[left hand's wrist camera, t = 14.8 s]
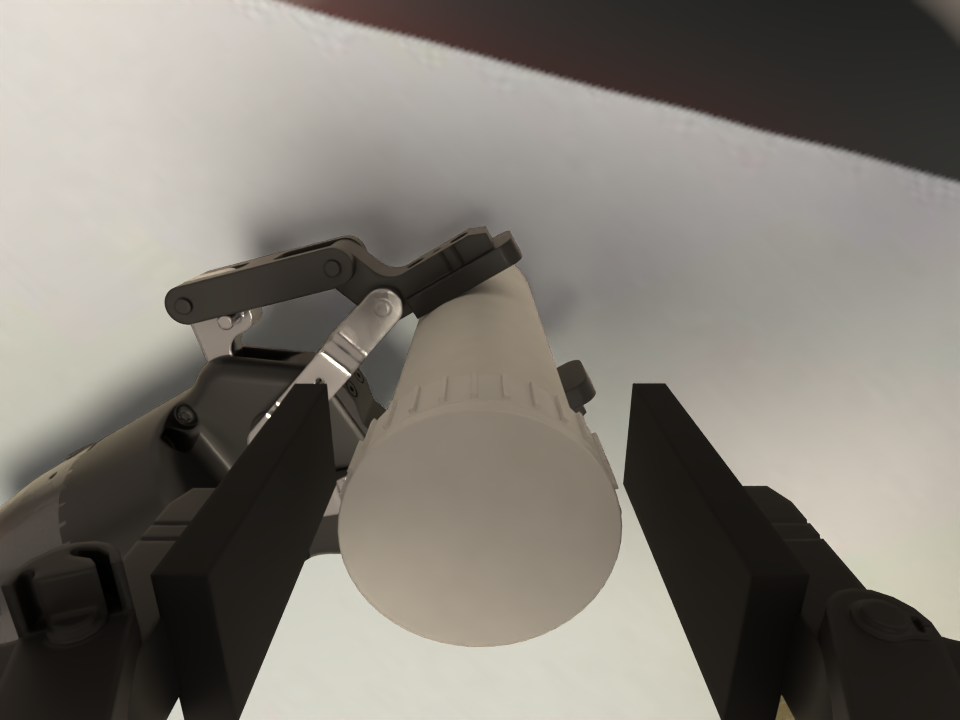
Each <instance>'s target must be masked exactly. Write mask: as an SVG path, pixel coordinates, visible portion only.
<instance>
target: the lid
mask: <svg viewBox="0 0 960 720" xmlns="http://www.w3.org/2000/svg"><path fill="white" fill-rule="evenodd" d="M347 472H348V474H347V476H346V479H345V482H344V484H343V487H342V489H341V492H340V496H339V498H342V499H341V503H340V508H339V513H338V530H337V532H338V540H339V548H340V551H341V555H342V558H343V562H344V564H345V567H346V569H347V571H348V573H349V575H350V577H351V579H352V581H353V582H354V584H355V585H356V587H357V589H358V590H359V591H360V593H361V594H362V595H363V596H364V597H365V598H366V600H367V601H368V602H369V603H370V604H371V605H372V606H373V607H374V608H375V609H376V610H378V611H379V612H380V613H381V614H382V615H384V616H385V617H386V618H388V619H389V620H391V621H392V622H393V623H395V624H397V625H399V626H400V627H402V628H404V629H406V630H408V631H410V632H412V633H415V634H417V635H419V636H422V637H424V638H427V639H431V640H434V641H438V642H441V643H447V644H452V645H458V646H469V647H492V646H500V645H508V644H513V643H517V642H522V641H526V640H529V639H532V638H535V637H538V636H541V635H543V634H545V633H547V632H549V631H551V630H554V629H556V628H557V627H559V626H561V625H562V624H564V623H566V622H567V621H569V620H570V619H572V618H573V617H574V616H576V615H577V614H578V613H579V612H581V611H582V610H583V609H584V608H585V607H586V606H587V605H588V604H589V603H590V602H591V601H592V600H593V599H594V598H595V597H596V595H597V594H598V593H599V592H600V590H601V589H602V588H603V586H604V585H605V583H606V581H607V579H608V578H609V576H610V574H611V572H612V570H613V567H614V565H615V562H616V560H617V557H618V553H619V548H620V544H621V534H622V520H621V508H620V505H619V502H618V498H617V494H616V492H615V489H618V485H617V482H616V480H615V477H614V475H613V472H612V470H611V467H610V465H609V462H608V460H607V457H606V456H605V453H604V451H603V448H602V446H601V443H600V441H599V438H598V436H597V434H596V433H593V434H591V432H590V430H589V429H588V427H587V426H586V423H585V421H584V418H583V415H582V414H581V413H580V412H577V413H575V412H574V411H573V410H572V409H571V408H570V407H569V406H567V405H566V404H565V403H564V402H563V400H562V397H561V396H560V395H559V394H557V395H556V396H554V395H552V394H551V393H549V392H547V391H545V390H543V389H541V388H539V387H537V385H536V382H533V381H531V382H530V384H529V383H526V382H523V381H521V380H516V379H512V378H508V375H507V374H503V373H502V376H493V375H478V374H477V372H472V375H465V376H458V377H451V378H448V376H447V375H446V376H442V379H441V380H440V381H436V382H433V383H430V384H428V385H425V386H423V387H420V385H417V386H415V387H414V390H413V392H411V393H409V394H408V395H406V396H404V397H402V398H401V399H400V400H399V401H397V402H396V401H395V400H392V401H391V402H390V405H389V407H388V410H387V411H386V412H385V413H384V414H383V415H382V416H381V417H380V418H379V419H378V420H376V419H375V418H374V419H373V420H372V421H371V423H370V426H369V429H368V431H367V434H366V437H365V439H364V442H363V441H361V440H359V442H358V445H357V447H356V450H355V452H354V455H353V457H352V460H351V462H350V465H349V467H348V470H347Z"/></svg>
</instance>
